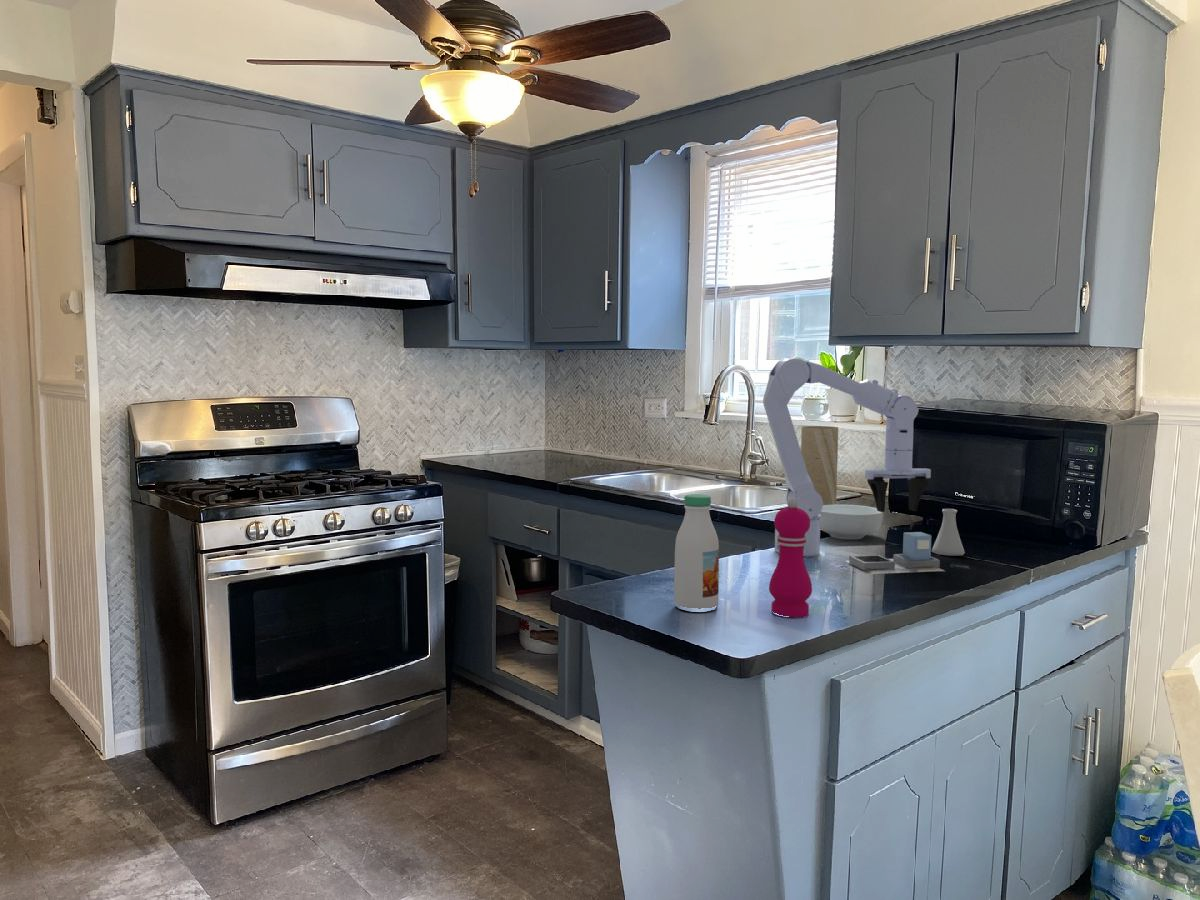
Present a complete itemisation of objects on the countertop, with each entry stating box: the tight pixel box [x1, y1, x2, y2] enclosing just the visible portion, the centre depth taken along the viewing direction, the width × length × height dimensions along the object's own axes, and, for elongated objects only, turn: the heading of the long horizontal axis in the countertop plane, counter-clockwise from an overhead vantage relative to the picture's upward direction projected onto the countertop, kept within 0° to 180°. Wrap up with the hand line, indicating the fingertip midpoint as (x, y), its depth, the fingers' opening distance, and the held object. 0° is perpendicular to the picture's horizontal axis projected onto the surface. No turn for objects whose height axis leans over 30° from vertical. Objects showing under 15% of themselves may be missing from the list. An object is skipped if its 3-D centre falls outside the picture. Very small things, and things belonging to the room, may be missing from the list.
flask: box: [931, 508, 966, 557], centre depth 201 cm, size 7×7×10 cm
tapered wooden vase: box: [800, 425, 839, 505], centre depth 249 cm, size 10×10×25 cm
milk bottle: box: [673, 493, 720, 609], centre depth 156 cm, size 8×8×20 cm
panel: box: [845, 553, 946, 575], centre depth 185 cm, size 17×12×3 cm
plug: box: [902, 531, 932, 560], centre depth 185 cm, size 4×5×6 cm
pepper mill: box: [768, 498, 813, 618], centre depth 152 cm, size 7×7×20 cm
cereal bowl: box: [819, 504, 884, 541], centre depth 221 cm, size 17×17×7 cm
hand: (896, 510), depth 196 cm, fingers open, 7 cm apart
